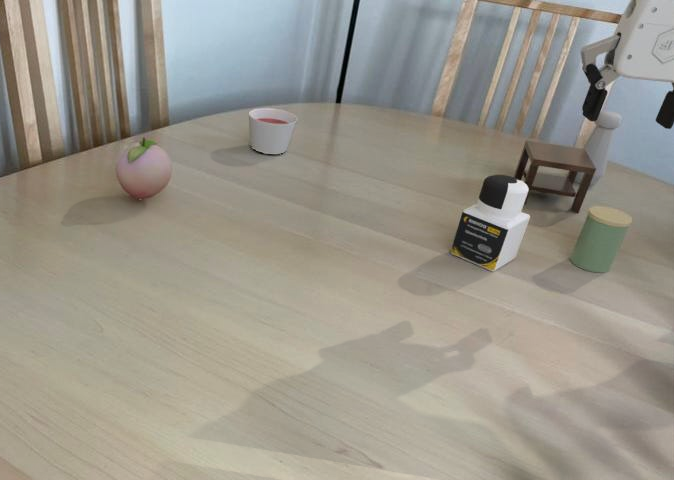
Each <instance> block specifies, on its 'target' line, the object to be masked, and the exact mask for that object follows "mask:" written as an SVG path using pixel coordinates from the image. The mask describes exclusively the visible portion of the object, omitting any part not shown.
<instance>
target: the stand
mask: <svg viewBox="0 0 674 480" xmlns="http://www.w3.org/2000/svg"><path fill="white" fill-rule="evenodd" d="M529 161H530V164H529V167H528V170H526V169H527V164H528V162H529ZM539 167H544V168H551V169H556V170H564V171H568V173H567V175H566V176H562V175H555V174H551V173H550V174H549V173H543V172H538V170H539ZM595 171H596V167H595V166H594V164H593V162H592V161H591V159H590V157H589V156H588V154H587V152H586V151H585V149H582V148H580V147H575V146H567V145H559V144H553V143H547V142H540V141H534V140H528V139H526V140H525V142H524V145H523V148H522V150H521V154H520V157H519V160H518V163H517V166H516V169H515V172H514V175H513V177H515V178H517V179H520V180H521V181H522V180H523V178H524V181H523V182H524V183H525V184H526V185H527V186H528V188H529V191H528V194H527V196H526V199H525V202H524V205H526V203H527V201H528V198H529V195H530V193H531V191H533V192H540V193H546V194H552V195H558V196H564V197H570V198H573V200H572V204H571V206H570V210H569V211H570V212H571V213H574V214H575V213H576V214H579V213H580V211H581V208H582V206H583V203H584V200H585V198H586V195H587V193H588V191H589V188H590V186H591V185H590V183H591V181H592V178H593V176H594V173H595ZM578 172H583V173H584V175H583V178H582V180H581V183H579V186H578V188H577V191H576V190H575V187H574V186H573V185H574V183H575V178H576V175H577V173H578Z"/></svg>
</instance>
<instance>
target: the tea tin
mask: <svg viewBox="0 0 674 480" xmlns="http://www.w3.org/2000/svg"><path fill="white" fill-rule="evenodd" d="M632 223H633V218H632V216H630V214H628V213H626V212H625V211H622V210H620V209H617V208H614V207H609V206H603V205H601V206H600V205H595V206H592V207H589V209H588V212H587V216H586V218H585V221H584V222H583V225H582V228H581V230H580V233H579V236H578V238H577V240H576V242H575V245H574V248H573V250H572V252H571V255H570V257H569V261H570V262H571V263H572V264H573V265H574V266H575V267H578V268H580V269H582V270H584V271H588V272H591V273H599V274H601V273H608V272H609V271H610V270H611V267H612V265H613V264H614V261H615V259H616V256H617V255H618V252H619V250H620V247H621V245H622V243H623V241H624V238H625V237H626V234H627V232H628V229H629V227H630V226H631V225H632Z"/></svg>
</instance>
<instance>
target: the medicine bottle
mask: <svg viewBox="0 0 674 480" xmlns="http://www.w3.org/2000/svg"><path fill="white" fill-rule="evenodd" d="M528 191H529V188H528V186H527V185H526V184H525V183H524V181H523V180H522V179H521V180H520V179H517V178H515V177H514V176H512V175H507V174H493V175H489V176H487V177H486V178H484V180H483V183H482V186H481V188H480V193H479V196H478V199H477V203H475V204H473V205H471V206H469V207H467V208H465V209H463V210H462V212H461V216H460V219H459V222H458V225H457V228H456V232H455V236H454V239H453V241H452V244H451V248H450V254H451V255H453V256H455V257H457V258H460V259H462V260H465V261H466V262H468V263H471V264H474V265H475V266H477V267H480V268H483V269H485V270H488V271H490V272H491V273H492V272H493V273H494V272H495V271H497V270H499V269H500V268H502V267H503V266H505V265H507V264H509V263H510V262H512V261H513V260H515V259H516V257H517V254H518V251H519V249H520V246H521V243H522V241H523V238H524V235H525V232H526V231H527V228H528V225H529V222H530V219H531V215H530V214H528V213H525V212H523V208H524V205H525V204H524V202H525V199H526V196H527V194H528Z"/></svg>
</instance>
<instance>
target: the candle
mask: <svg viewBox="0 0 674 480" xmlns="http://www.w3.org/2000/svg"><path fill="white" fill-rule="evenodd" d="M297 122H298V117H297V115H295V114H293V113H291V112H290V111H287V110H283V109H278V108H272V107H271V108H269V107H261V108H260V107H259V108H254V109H252V110H250V111H249V112H248V127H249V143H250V144H251V145H250V144H249V145H250V147H251V146H252V147H253V148H255V149H257V150H260V151H263V152H267V153H283V152H285V151H286V152H287V151H288V148H289V146H290V142H291V139H292V137H293V133H294V131H295V129H296V128H295V127H296V125H297ZM286 152H285V153H286ZM283 154H284V153H283Z"/></svg>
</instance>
